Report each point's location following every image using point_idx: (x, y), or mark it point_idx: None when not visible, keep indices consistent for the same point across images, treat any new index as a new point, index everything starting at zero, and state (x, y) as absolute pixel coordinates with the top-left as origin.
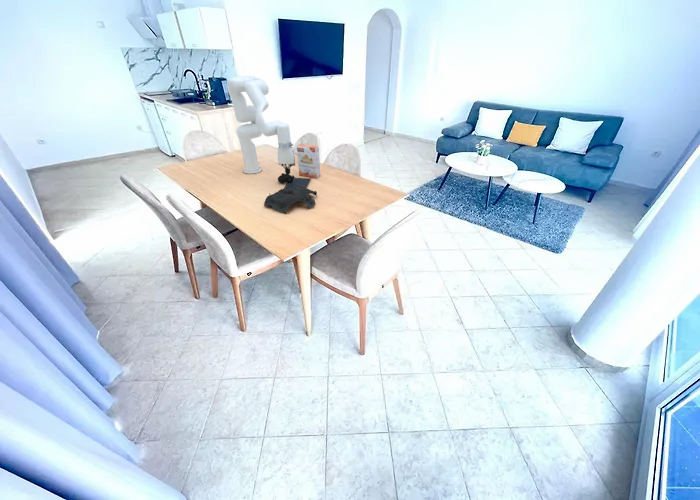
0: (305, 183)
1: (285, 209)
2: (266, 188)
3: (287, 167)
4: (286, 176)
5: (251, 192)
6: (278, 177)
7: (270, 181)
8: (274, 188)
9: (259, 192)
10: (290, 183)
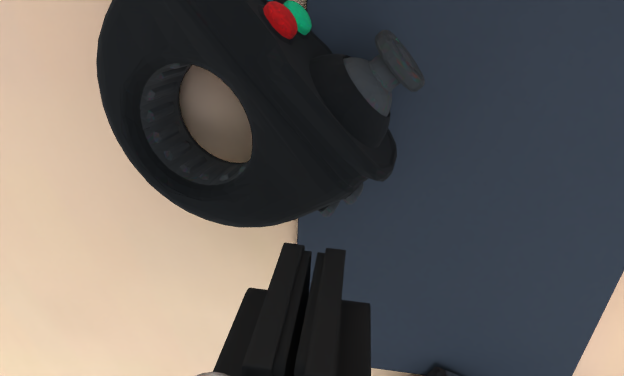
0: (613, 182)
1: None
2: (90, 284)
3: (272, 371)
4: (263, 149)
5: (4, 355)
6: (111, 116)
7: (18, 65)
8: (177, 288)
9: (74, 360)
10: None
